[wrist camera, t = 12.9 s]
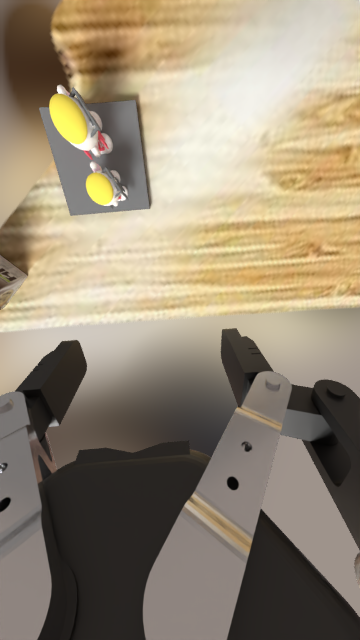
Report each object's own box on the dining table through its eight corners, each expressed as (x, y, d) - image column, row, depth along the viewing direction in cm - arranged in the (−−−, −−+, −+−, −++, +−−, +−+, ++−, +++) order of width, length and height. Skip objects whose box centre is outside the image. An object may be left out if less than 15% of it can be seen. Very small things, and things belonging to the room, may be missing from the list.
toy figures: (133, 204, 31) (124, 202, 24) (106, 213, 31) (88, 214, 24) (97, 97, 26) (69, 51, 18) (65, 109, 26) (24, 69, 19)
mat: (136, 103, 27) (135, 100, 26) (149, 208, 32) (149, 208, 32) (43, 111, 27) (38, 107, 26) (73, 215, 32) (70, 215, 31)
